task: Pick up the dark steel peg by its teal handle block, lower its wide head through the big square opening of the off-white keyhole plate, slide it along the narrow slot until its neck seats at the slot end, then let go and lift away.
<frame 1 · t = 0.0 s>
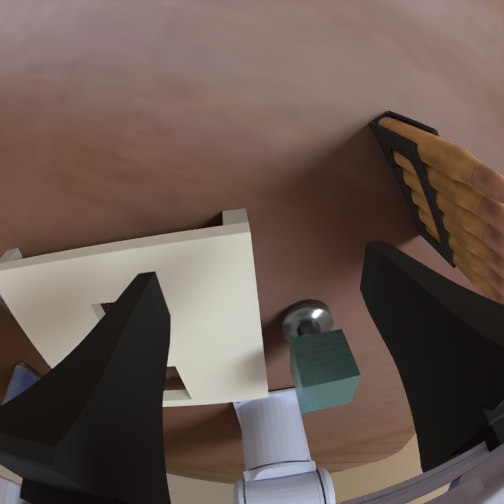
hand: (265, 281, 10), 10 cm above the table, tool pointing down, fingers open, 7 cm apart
flask: (44, 382, 29), on the table
peg: (304, 318, 26), on the table
ammunition clip: (407, 177, 20), on the table
keyhole plate: (140, 322, 24), on the table
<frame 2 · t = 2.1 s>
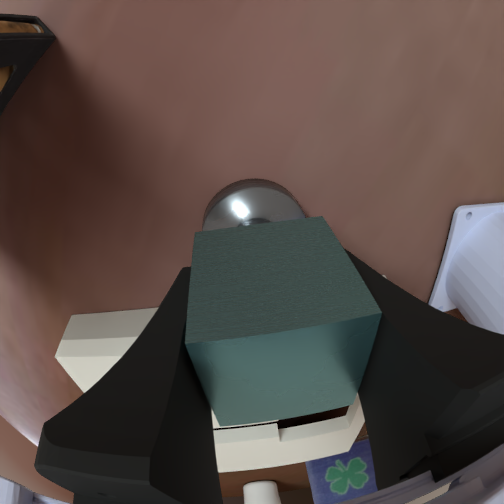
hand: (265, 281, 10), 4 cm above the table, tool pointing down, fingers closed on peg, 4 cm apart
flask: (338, 445, 32), on the table
peg: (252, 225, 14), on the table, touching gripper
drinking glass: (259, 482, 38), on the table
keyhole plate: (243, 396, 21), on the table
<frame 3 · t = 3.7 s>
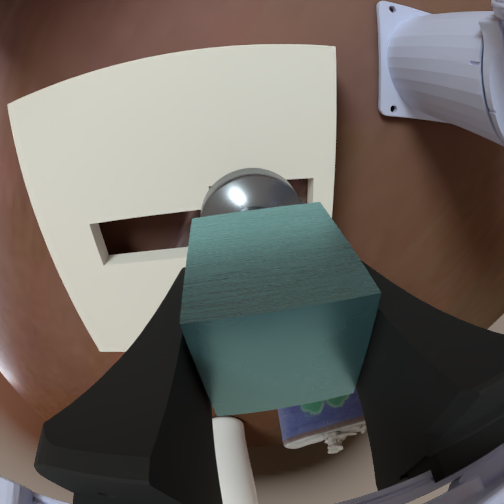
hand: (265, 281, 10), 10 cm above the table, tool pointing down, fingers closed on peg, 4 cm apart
flask: (312, 358, 30), on the table
peg: (251, 215, 13), point 6 cm above the table, touching gripper
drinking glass: (223, 421, 37), on the table
keyhole plate: (182, 211, 20), on the table
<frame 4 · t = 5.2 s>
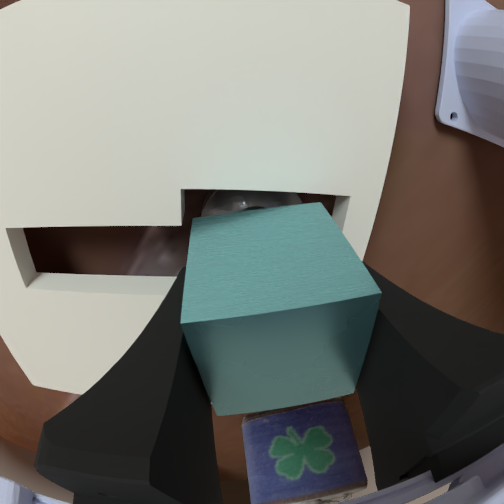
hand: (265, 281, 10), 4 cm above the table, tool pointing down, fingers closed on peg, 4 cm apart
flask: (292, 409, 24), on the table
peg: (251, 215, 13), on the table, touching gripper
keyhole plate: (141, 222, 13), on the table
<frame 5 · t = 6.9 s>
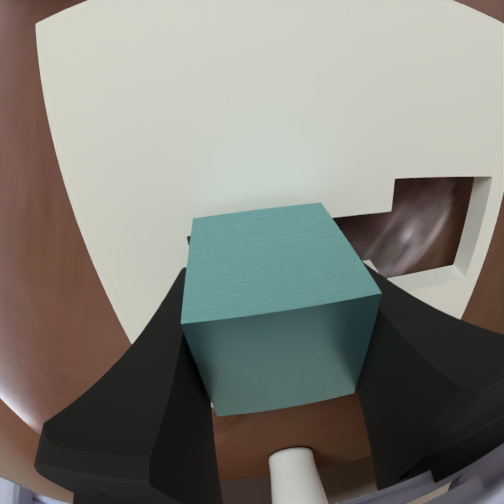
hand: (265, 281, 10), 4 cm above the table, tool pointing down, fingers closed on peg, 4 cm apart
peg: (251, 215, 13), on the table, touching gripper
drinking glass: (289, 451, 31), on the table
keyhole plate: (312, 215, 14), on the table
when the fingers open (4 cm above the table, at t = 8.4 s): peg stays where it is, on the table.
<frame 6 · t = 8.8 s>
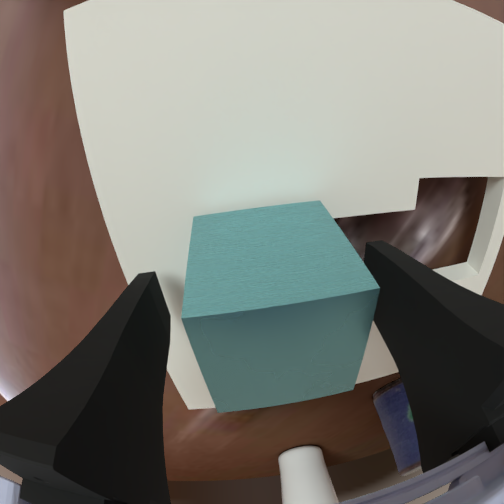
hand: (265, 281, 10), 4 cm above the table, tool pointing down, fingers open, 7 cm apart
flask: (414, 375, 24), on the table
peg: (251, 214, 14), on the table
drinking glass: (299, 450, 31), on the table
keyhole plate: (335, 213, 14), on the table
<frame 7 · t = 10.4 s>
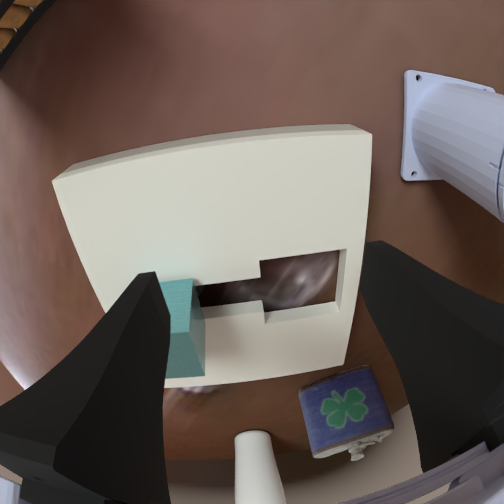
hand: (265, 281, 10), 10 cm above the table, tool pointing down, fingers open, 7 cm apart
flask: (334, 378, 33), on the table
peg: (175, 272, 22), on the table
ammunition clip: (38, 7, 11), on the table
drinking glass: (251, 434, 40), on the table
keyhole plate: (227, 270, 23), on the table
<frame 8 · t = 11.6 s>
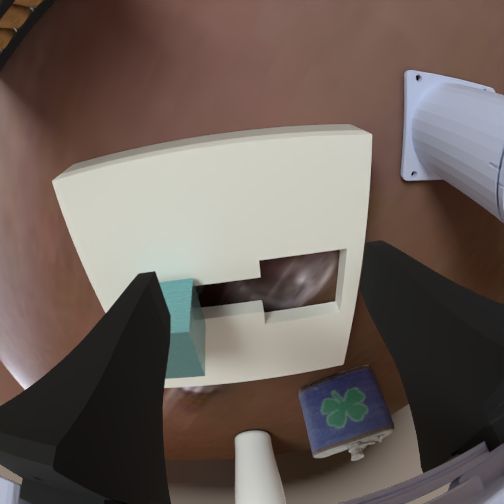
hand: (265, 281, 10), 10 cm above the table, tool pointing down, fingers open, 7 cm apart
flask: (334, 378, 33), on the table
peg: (175, 272, 22), on the table
ammunition clip: (38, 7, 11), on the table
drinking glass: (252, 434, 40), on the table
keyhole plate: (227, 270, 23), on the table
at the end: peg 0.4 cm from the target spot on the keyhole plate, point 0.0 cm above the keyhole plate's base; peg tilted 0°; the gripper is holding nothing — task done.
